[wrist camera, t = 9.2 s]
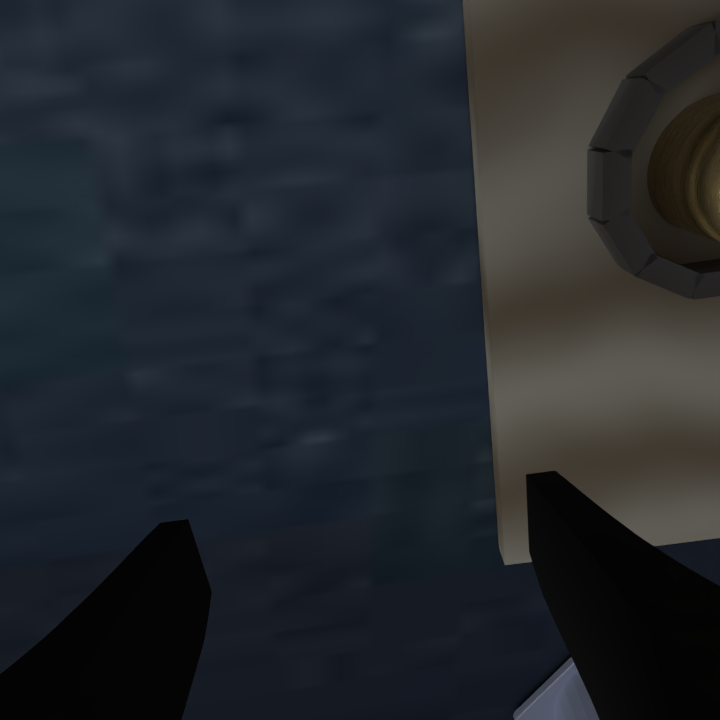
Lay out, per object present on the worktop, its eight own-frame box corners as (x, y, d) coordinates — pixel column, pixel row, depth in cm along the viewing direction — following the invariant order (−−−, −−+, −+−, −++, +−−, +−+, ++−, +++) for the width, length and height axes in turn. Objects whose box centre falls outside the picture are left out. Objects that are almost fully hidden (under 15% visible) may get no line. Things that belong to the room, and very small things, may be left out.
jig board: (841, 504, 24) (886, 540, 22) (499, 548, 25) (512, 587, 23) (967, -86, 16) (1056, -114, 14) (462, -3, 17) (478, -18, 15)
